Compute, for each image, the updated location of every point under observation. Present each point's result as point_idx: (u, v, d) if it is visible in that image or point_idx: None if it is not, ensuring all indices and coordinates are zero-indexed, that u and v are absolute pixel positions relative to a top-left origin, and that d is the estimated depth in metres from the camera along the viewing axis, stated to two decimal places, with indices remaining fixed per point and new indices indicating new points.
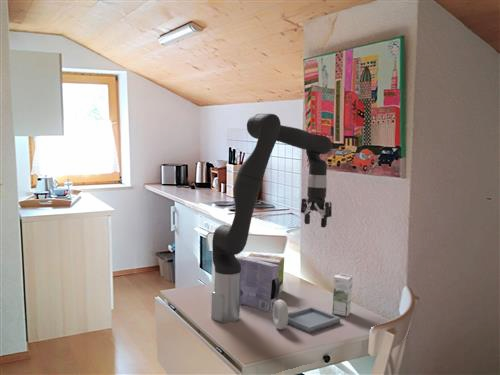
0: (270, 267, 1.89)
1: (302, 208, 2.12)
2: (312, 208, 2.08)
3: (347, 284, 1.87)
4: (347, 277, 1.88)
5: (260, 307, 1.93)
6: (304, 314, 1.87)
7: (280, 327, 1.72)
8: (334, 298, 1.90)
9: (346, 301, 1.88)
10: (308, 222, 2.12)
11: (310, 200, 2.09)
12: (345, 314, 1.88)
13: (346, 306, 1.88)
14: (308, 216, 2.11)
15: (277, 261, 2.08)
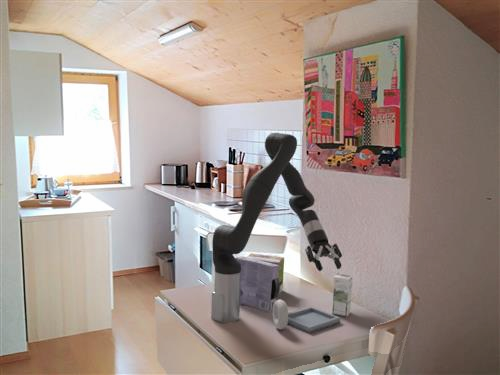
0: (270, 267, 1.89)
1: (312, 254, 1.98)
2: (323, 252, 2.01)
3: (347, 284, 1.87)
4: (347, 277, 1.88)
5: (260, 307, 1.93)
6: (304, 314, 1.87)
7: (280, 327, 1.72)
8: (334, 298, 1.90)
9: (346, 301, 1.88)
10: None
11: (317, 245, 2.02)
12: (345, 314, 1.88)
13: (346, 306, 1.88)
14: None
15: (277, 261, 2.08)
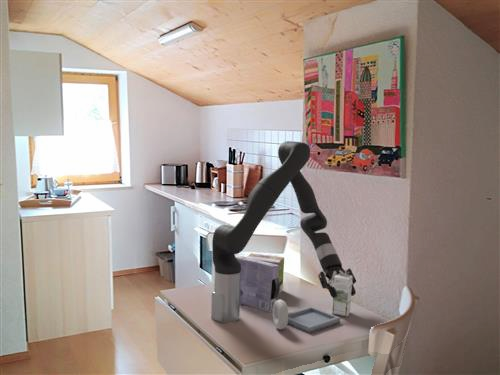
0: (270, 267, 1.89)
1: (325, 281, 1.90)
2: None
3: (347, 284, 1.87)
4: (347, 277, 1.88)
5: (260, 307, 1.93)
6: (304, 314, 1.87)
7: (280, 327, 1.72)
8: (334, 298, 1.90)
9: (346, 301, 1.88)
10: None
11: (330, 270, 1.94)
12: (345, 314, 1.88)
13: (346, 306, 1.88)
14: None
15: (277, 261, 2.08)
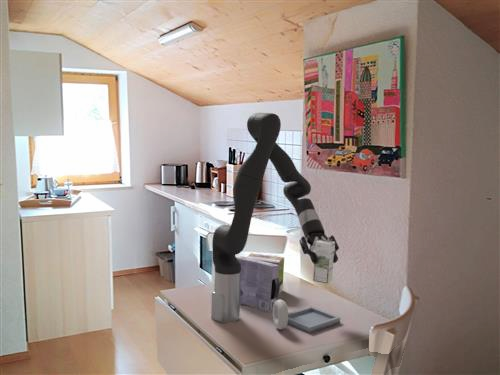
0: (270, 267, 1.89)
1: (306, 246, 1.82)
2: None
3: (329, 249, 1.79)
4: (329, 242, 1.81)
5: (260, 307, 1.93)
6: (304, 314, 1.87)
7: (280, 327, 1.72)
8: (315, 264, 1.82)
9: (328, 267, 1.80)
10: None
11: (312, 236, 1.86)
12: (326, 281, 1.81)
13: (327, 272, 1.80)
14: None
15: (277, 261, 2.08)
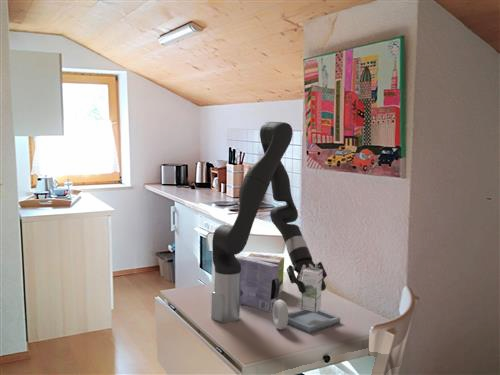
0: (270, 267, 1.89)
1: (293, 275, 1.80)
2: None
3: (316, 278, 1.77)
4: (316, 271, 1.78)
5: (260, 307, 1.93)
6: (304, 314, 1.87)
7: (280, 327, 1.72)
8: (303, 293, 1.80)
9: (315, 296, 1.78)
10: None
11: (299, 264, 1.84)
12: (314, 310, 1.78)
13: (315, 302, 1.78)
14: None
15: (277, 261, 2.08)
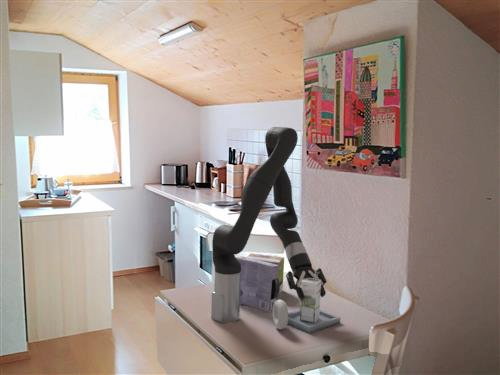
0: (270, 267, 1.89)
1: (293, 281, 1.80)
2: None
3: (315, 289, 1.77)
4: (315, 281, 1.79)
5: (260, 307, 1.93)
6: None
7: (280, 327, 1.72)
8: (302, 303, 1.80)
9: (314, 306, 1.78)
10: None
11: (299, 270, 1.84)
12: (313, 320, 1.79)
13: (314, 312, 1.78)
14: None
15: (277, 261, 2.08)
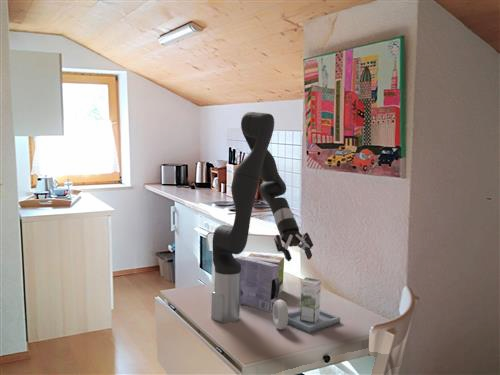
0: (270, 267, 1.89)
1: (280, 244, 1.88)
2: (292, 241, 1.90)
3: (315, 289, 1.77)
4: (315, 281, 1.79)
5: (260, 307, 1.93)
6: None
7: (280, 327, 1.72)
8: (302, 303, 1.80)
9: (314, 306, 1.78)
10: None
11: (287, 234, 1.92)
12: (313, 320, 1.79)
13: (314, 312, 1.78)
14: None
15: (277, 261, 2.08)
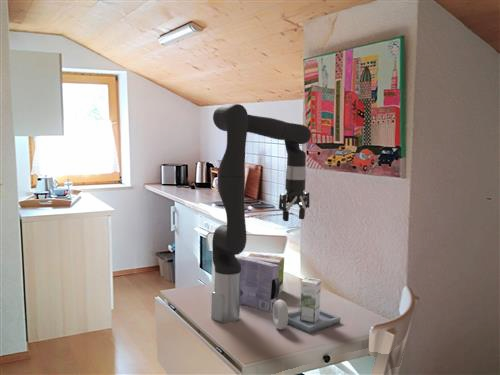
0: (270, 267, 1.89)
1: (284, 205, 1.92)
2: (294, 202, 1.95)
3: (315, 289, 1.77)
4: (315, 281, 1.79)
5: (260, 307, 1.93)
6: None
7: (280, 327, 1.72)
8: (302, 303, 1.80)
9: (314, 306, 1.78)
10: None
11: (293, 194, 1.94)
12: (313, 320, 1.79)
13: (314, 312, 1.78)
14: None
15: (277, 261, 2.08)
